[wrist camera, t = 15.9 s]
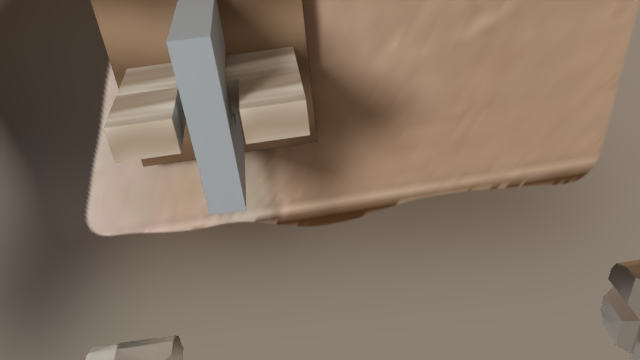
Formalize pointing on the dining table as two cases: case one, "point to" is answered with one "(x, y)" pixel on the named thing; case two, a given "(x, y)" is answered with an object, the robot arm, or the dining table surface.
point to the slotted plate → (208, 103)
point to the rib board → (239, 33)
